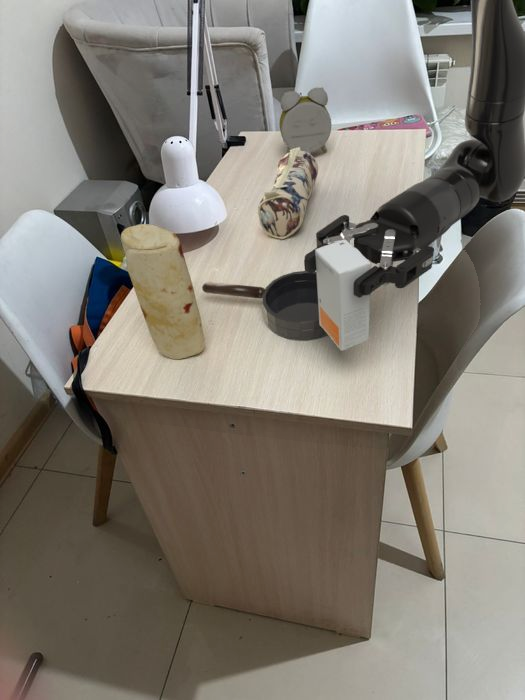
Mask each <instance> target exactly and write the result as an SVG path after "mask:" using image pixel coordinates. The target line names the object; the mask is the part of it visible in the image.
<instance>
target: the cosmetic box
mask: <svg viewBox="0 0 525 700" xmlns="http://www.w3.org/2000/svg"><path fill="white" fill-rule="evenodd" d="M315 249H316V248H315ZM315 256H316V272H317V290H318V306H319V323H320V326H321V327H322V328H323V329H324V330H325V332H326V333H327V334H328V335H327V336H329V338H330V339H331V341H333V343H334V345H336V346H337V348H338V349H339V350H340V352H343V351H346V350H348V349H350V348H353V347H355V346H357V345H360V344H363V343H366V342H368V341H369V340H370V316H371V315H370V314H371V294H369V295H366V296H365V295H363V296H362V297H361V298H359V297H357V296H355V295H354V294H353V292H354V281H355V280H356V279H357V278H359V277H360V276H361V275H363V274H364V273H365V272H367V271H368V270H370V269H371V268H372V262H370V261H369V260H368V259H366V258H365V257H364V256H363V255H362V254H361V253H360V251H359V250H357V249H356V248H354V245H352V244H351V242H350V243H349V242H348V241H347V240H345V239H344V240H341V241H338V242H335V243H332V244H329V245H326V246H323V247H320V248H318V249H316V250H315Z"/></svg>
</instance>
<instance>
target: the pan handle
mask: <svg viewBox="0 0 525 700" xmlns="http://www.w3.org/2000/svg"><path fill="white" fill-rule="evenodd" d="M201 289H202V291H203V293H205V294H213V295H221V296H232V297H239V298H240V297H241V298H251V299H260V300H262V294H263V293H264V292H265V288H264V287H262V286H253V285H244V284H235V283H234V284H233V283H223V282H222V283H221V282H212V281H205V282H204V283H202V285H201Z"/></svg>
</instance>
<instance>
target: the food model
mask: <svg viewBox="0 0 525 700" xmlns="http://www.w3.org/2000/svg"><path fill="white" fill-rule="evenodd" d="M120 240H121V245H122V249H123V253H124V256H125V262H126V263H125V264H126V270H127V272H128V275H129V278H130V280H131V283H132V286H133V289H134V293H135V295H136V298H137V301H138V304H139V307H140V310H141V312H142V315H143V317H144V320H145V322H146V326H147V328H148V331H149V334H150V336H151V339H152V342H153V343H154V345H155V347H156V349H157V350H158V351H159V353H161V355H163V356H164V357H166V358H169V359H172V360H182V359H187V358H189V357H193V356H196V355H198V354H200V353H202V352H203V350H204V349H205V348H206V341H205V335H204V331H203V323H202V317H201V314H200V309H199V305H198V301H197V298H196V294H195V293H196V292H195V289H194V285H193V281H192V278H191V277H192V276H191V275H190V271H189V268H188V264H187V262H186V258H185V255H184V252H183V246H182V243H181V240H180V239H179V237H178V236H177V235H176V234H175V233H173V232H172V231H170V230H168V229H166V228H163V227H160V226H159V225H155V224H149V223H141V224H136V225H131V226H129V227H126V228H124V229H123V231H122V232H121V234H120Z"/></svg>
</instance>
